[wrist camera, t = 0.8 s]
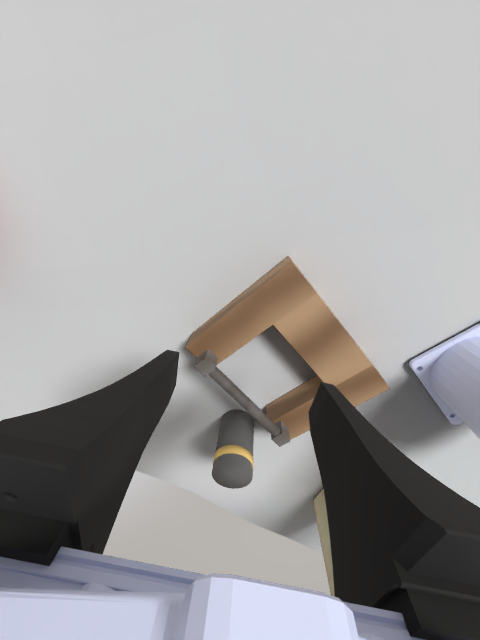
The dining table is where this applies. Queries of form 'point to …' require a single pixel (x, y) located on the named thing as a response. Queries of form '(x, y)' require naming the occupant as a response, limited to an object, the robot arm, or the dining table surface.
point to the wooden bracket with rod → (305, 337)
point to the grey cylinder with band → (234, 450)
